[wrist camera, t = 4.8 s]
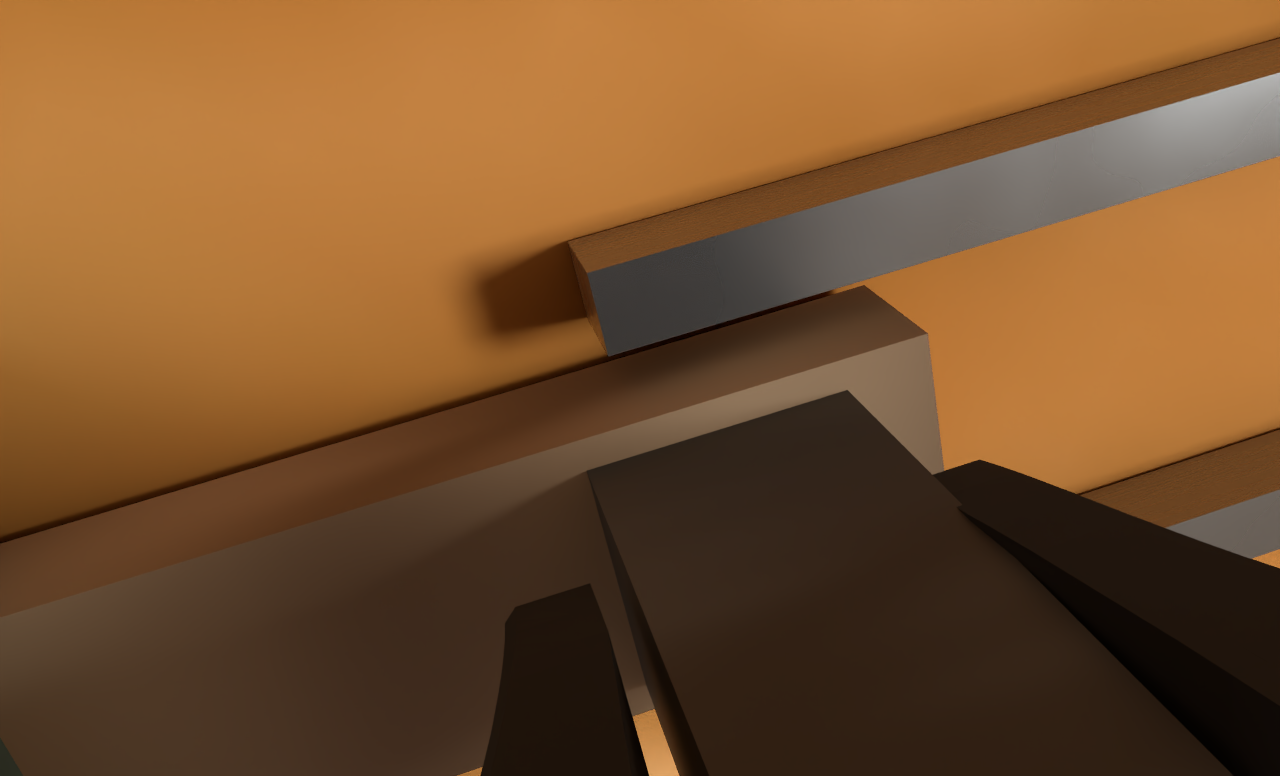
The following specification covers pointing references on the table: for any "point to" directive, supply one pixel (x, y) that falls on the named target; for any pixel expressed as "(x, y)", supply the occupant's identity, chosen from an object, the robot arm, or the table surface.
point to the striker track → (967, 240)
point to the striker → (572, 557)
